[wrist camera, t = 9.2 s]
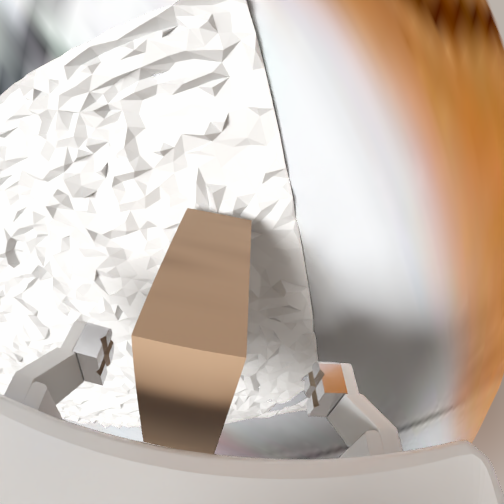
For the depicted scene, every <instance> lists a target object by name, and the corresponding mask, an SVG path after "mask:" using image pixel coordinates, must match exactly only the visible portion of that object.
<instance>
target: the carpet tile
mask: <svg viewBox="0 0 504 504" xmlns="http://www.w3.org/2000/svg"><path fill="white" fill-rule="evenodd" d="M158 73H162V74H160V75H159V76H157V77H152V76H153V75H154V74H158ZM187 208H190V209H196V210H201V211H206V212H212V213H217V214H222V215H227V216H232V217H237V218H242V219H247V220H252V225H251V250H250V276H249V302H248V329H247V355H246V361H245V364H244V367H243V370H242V373H241V376H240V379H239V382H238V385H237V388H236V391H235V394H234V397H233V400H232V403H231V406H230V409H229V412H228V415H227V418H226V420H225V423H224V424H228V423H233V422H238V421H242V420H246V419H251V418H269V417H272V416H274V415H279V414H285V413H292V412H297V411H305V410H307V405H306V403H307V401H308V399H309V398H308V397H307V398H306V399H304V400H303V401H301V402H299V403H297V405H293V406H289V407H284V408H283V409H281V410H276V411H271V412H269V411H270V410H271V408H272V407H274V406H275V404H277V403H280V404H284V403H286V402H288V401H290V400H292V399H293V398H294V397H295V396H297V395H298V394H299V393H300V392H302V391H305V390H304V384H305V380H304V381H301V380H302V379H303V377H305V376H306V375H307V374H308V373H310V372H311V371H313V369H312V366H313V364H314V363H315V362H316V361H318V355H317V344H316V336H315V333H313V313H312V306H311V299H310V292H309V286H308V280H307V274H306V268H305V262H304V256H303V250H302V244H301V238H300V233H299V227H298V223H297V220H296V217H295V210H294V202H293V195H292V190H291V185H290V179H289V176H288V172H287V168H286V163H285V159H284V154H283V148H282V143H281V138H280V133H279V128H278V124H277V119H276V115H275V110H274V106H273V101H272V97H271V93H270V88H269V84H268V79H267V75H266V71H265V67H264V63H263V59H262V55H261V51H260V47H259V43H258V39H257V35H256V32H255V29H254V25H253V22H252V19H251V15H250V11H249V8H248V4H247V1H246V0H179V1H177V2H176V3H175V4H174V5H171V6H167V7H163V8H160V9H156V10H153V11H151V12H149V13H146V14H144V15H142V16H140V17H138V18H136V19H134V20H132V21H130V22H128V23H126V24H124V25H122V26H118V27H113V28H111V29H109V30H107V31H106V32H104V33H102V34H101V35H99V36H98V37H96V38H95V39H93V40H91V41H89V42H87V43H84V44H82V45H79V46H77V47H75V48H72V49H71V50H69V51H68V52H66V53H65V54H64V55H62V56H60V57H58V58H56V59H54V60H53V61H51V62H49V63H47V64H45V65H43V66H41V67H39V68H38V69H36V70H34V71H32V72H31V73H29V74H27V75H26V76H25V77H24V78H23V79H21V80H19V81H18V82H16V83H14V84H13V85H12V86H11V87H10V88H8V89H7V90H6V91H5V92H4V93H3V94H2V95H1V96H0V394H2V395H4V394H5V392H6V390H7V388H8V386H9V384H10V382H11V380H12V378H13V376H14V374H15V372H16V371H18V370H20V369H21V368H23V367H25V366H26V365H28V364H30V363H32V362H33V361H35V360H37V359H38V358H40V357H42V356H43V355H45V354H47V353H48V352H50V351H52V350H54V349H55V348H57V347H58V348H61V346H62V344H63V342H64V340H65V338H66V336H67V334H68V332H69V330H70V329H71V327H72V325H73V323H74V322H75V321H76V320H77V319H78V320H81V321H85V322H89V323H92V324H96V325H99V326H103V327H106V328H110V329H112V337H111V340H112V341H113V343H114V353H113V359H112V362H111V364H110V365H109V366H107V367H106V368H107V376H106V378H105V381H104V384H103V386H102V385H98V384H94V383H90V382H87V381H84V382H83V383H82V384H81V385H80V386H78V387H77V388H76V389H75V390H74V391H72V392H71V393H70V394H69V395H68V396H66V397H65V398H64V399H63V400H62V401H60V402H59V403H58V404H57V405H56V407H57V409H58V411H59V413H60V414H61V416H62V418H64V419H68V420H72V421H76V422H79V423H81V424H84V423H88V422H92V423H95V422H99V423H100V424H101V425H102V426H104V427H105V428H108V427H109V426H111V425H112V426H114V427H117V428H119V429H120V428H121V427H122V426H125V427H128V428H130V427H138V426H140V427H141V422H140V415H139V408H138V400H137V392H136V383H135V374H134V364H133V352H132V339H131V335H132V332H133V330H134V327H135V325H136V322H137V320H138V317H139V315H140V312H141V310H142V307H143V305H144V303H145V300H146V298H147V296H148V293H149V291H150V288H151V286H152V284H153V282H154V279H155V277H156V275H157V272H158V270H159V268H160V266H161V263H162V261H163V259H164V257H165V254H166V252H167V250H168V248H169V246H170V244H171V241H172V239H173V237H174V235H175V233H176V231H177V229H178V226H179V224H180V222H181V220H182V218H183V216H184V214H185V212H186V210H187ZM259 386H260V387H259ZM269 400H271V401H269ZM267 401H268V402H267Z"/></svg>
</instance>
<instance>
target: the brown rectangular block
mask: <svg viewBox="0 0 504 504" xmlns="http://www.w3.org/2000/svg"><path fill="white" fill-rule="evenodd" d="M251 225H252V220H247V219H242V218H237V217H232V216H227V215H222V214H217V213H212V212H206V211H201V210H196V209H190V208H187V210H186V212H185V214H184V216H183V218H182V220H181V222H180V224H179V226H178V229H177V231H176V233H175V235H174V237H173V239H172V241H171V244H170V246H169V248H168V250H167V252H166V254H165V257H164V259H163V261H162V263H161V266H160V268H159V270H158V272H157V275H156V277H155V279H154V282H153V284H152V286H151V288H150V291H149V293H148V296H147V298H146V300H145V303H144V305H143V307H142V310H141V312H140V315H139V317H138V320H137V322H136V325H135V327H134V330H133V332H132V335H131V339H132V352H133V364H134V374H135V383H136V392H137V400H138V408H139V415H140V422H141V429H142V435H143V441H144V442H147V443H151V444H155V445H160V446H165V447H169V448H174V449H180V450H187V451H193V452H200V453H208V454H214V452H215V449H216V447H217V444H218V441H219V438H220V435H221V432H222V429H223V426H224V423H225V420H226V418H227V415H228V412H229V409H230V406H231V403H232V400H233V397H234V394H235V391H236V388H237V385H238V382H239V379H240V376H241V373H242V370H243V367H244V364H245V361H246V355H247V329H248V302H249V276H250V250H251Z"/></svg>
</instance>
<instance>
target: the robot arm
mask: <svg viewBox="0 0 504 504" xmlns="http://www.w3.org/2000/svg"><path fill="white" fill-rule="evenodd" d="M111 337H112V329H110V328H106V327H103V326H99V325H96V324H92V323H89V322H85V321H81V320H78V319H77V320H76V321H75V322H74V323H73V325H72V327H71V329H70V330H69V332H68V334H67V336H66V338H65V340H64V342H63V344H62V346H61V348H58V347H57V348H55V349H54V350H52V351H50V352H48V353H47V354H45V355H43V356H42V357H40V358H38V359H37V360H35V361H33V362H32V363H30V364H28V365H26V366H25V367H23V368H21V369H20V370H18V371H16V372H15V374H14V376H13V378H12V380H11V382H10V384H9V386H8V388H7V390H6V392H5V394H4V395H2V394H0V504H504V495H503V492H502V489H501V486H500V483H499V480H498V478H497V475H496V473H495V470H494V468H493V466H492V464H491V462H490V460H489V459H488V457H487V456H486V455H484V453H482V452H481V451H480V450H479V449H477V448H476V447H475V446H474V445H473V444H471V443H470V442H468V441H466V440H458V441H454V442H450V443H445V444H441V445H436V446H431V447H426V448H421V449H415V450H409V451H403V449H402V445H401V442H400V438H399V435H398V431H397V428H396V427H395V426H394V425H393V424H392V423H391V422H390V421H389V420H388V419H387V418H386V417H385V416H384V415H383V414H382V413H381V412H380V411H379V410H378V409H377V408H376V407H375V406H374V405H373V404H372V403H371V402H370V401H369V400H368V399H367V398H366V397H365V396H364V395H363V394H359V390H358V386H357V383H356V379H355V376H354V372H353V369H352V365H351V364H350V363H338V362H322V361H316V362H315V363H314V364H313V366H312V369H313V371H311V372H310V373H308V375H307V377H306V380H305V384H304V390H305V395H306V396H307V397H308V398H309V399H308V401H307V403H306V405H307V412H308V416H317V417H327V419H328V421H329V422H330V423H331V425H332V426H333V427H334V429H335V430H336V431H337V433H338V434H339V435H340V437H341V438H342V439H343V441H344V442H345V443H346V445H347V446H348V447H349V449H347V450H346V451H345V452H344V453H343V454H342V455H341V456H340V458H330V459H267V458H249V457H236V456H226V455H216V454H208V453H200V452H193V451H187V450H180V449H174V448H169V447H163V446H158V445H153V444H148V443H144V442H139V441H135V440H131V439H126V438H122V437H118V436H115V435H111V434H107V433H104V432H100V431H97V430H93V429H90V428H87V427H84V426H80V425H77V424H74V423H71V422H68V421H65V420H63V419H62V416H61V414H60V413H59V411H58V409H57V407H56V405H57V404H58V403H59V402H60V401H62V400H63V399H64V398H65V397H66V396H68V395H69V394H70V393H71V392H72V391H74V390H75V389H76V388H77V387H78V386H80V385H81V384H82V383H83V382H84V381H87V382H90V383H94V384H98V385H102V386H103V384H104V381H105V378H106V376H107V368H106V367H107V366H109V365H110V364H111V362H112V359H113V353H114V343H113V341H112V340H111Z"/></svg>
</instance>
